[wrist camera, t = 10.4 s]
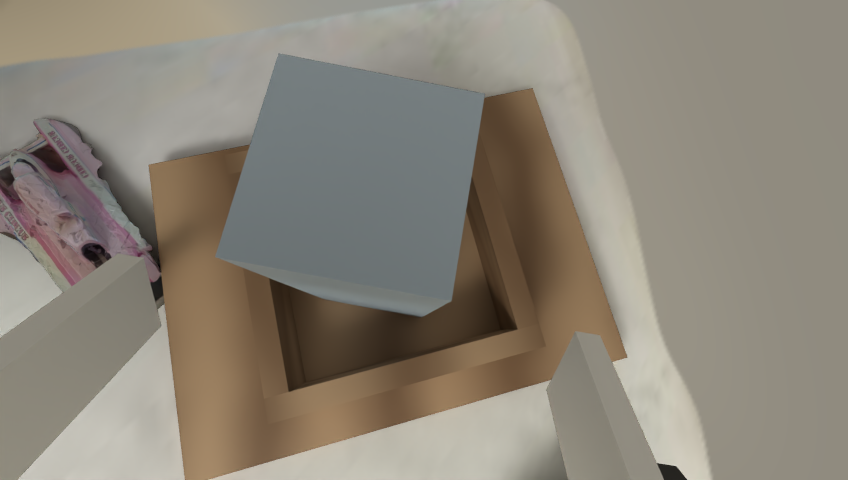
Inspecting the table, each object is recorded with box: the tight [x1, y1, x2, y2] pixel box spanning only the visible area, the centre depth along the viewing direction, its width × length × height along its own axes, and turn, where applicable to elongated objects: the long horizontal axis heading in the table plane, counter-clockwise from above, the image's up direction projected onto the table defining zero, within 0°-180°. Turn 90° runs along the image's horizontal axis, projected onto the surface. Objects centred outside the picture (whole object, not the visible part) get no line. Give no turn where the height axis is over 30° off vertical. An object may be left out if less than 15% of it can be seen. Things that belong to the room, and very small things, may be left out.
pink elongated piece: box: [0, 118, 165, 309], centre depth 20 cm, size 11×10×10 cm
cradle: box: [149, 88, 627, 480], centre depth 19 cm, size 22×16×4 cm
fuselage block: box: [215, 53, 485, 317], centre depth 14 cm, size 5×5×12 cm
